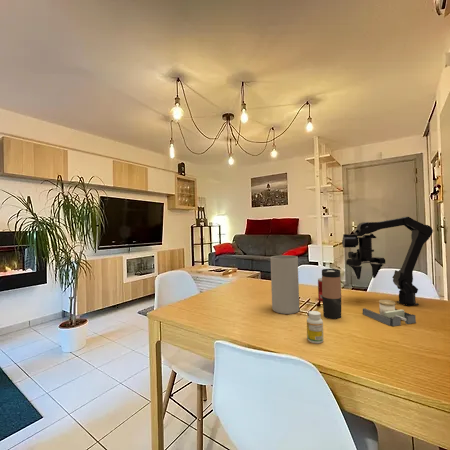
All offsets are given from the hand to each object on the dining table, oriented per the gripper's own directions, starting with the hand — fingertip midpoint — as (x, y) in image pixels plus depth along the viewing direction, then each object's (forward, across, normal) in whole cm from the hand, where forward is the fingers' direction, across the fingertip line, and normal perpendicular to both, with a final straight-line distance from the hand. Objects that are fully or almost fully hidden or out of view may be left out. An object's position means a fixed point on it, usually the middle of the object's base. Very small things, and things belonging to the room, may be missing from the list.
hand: (366, 278), depth 129 cm
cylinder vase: (+12, +43, -3) cm, 45 cm away
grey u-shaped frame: (+12, +8, +20) cm, 25 cm away
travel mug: (+12, +28, +11) cm, 32 cm away
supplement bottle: (+12, +48, +29) cm, 57 cm away
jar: (+12, +8, +20) cm, 24 cm away
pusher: (+12, +8, +25) cm, 29 cm away
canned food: (+12, +16, -10) cm, 22 cm away
